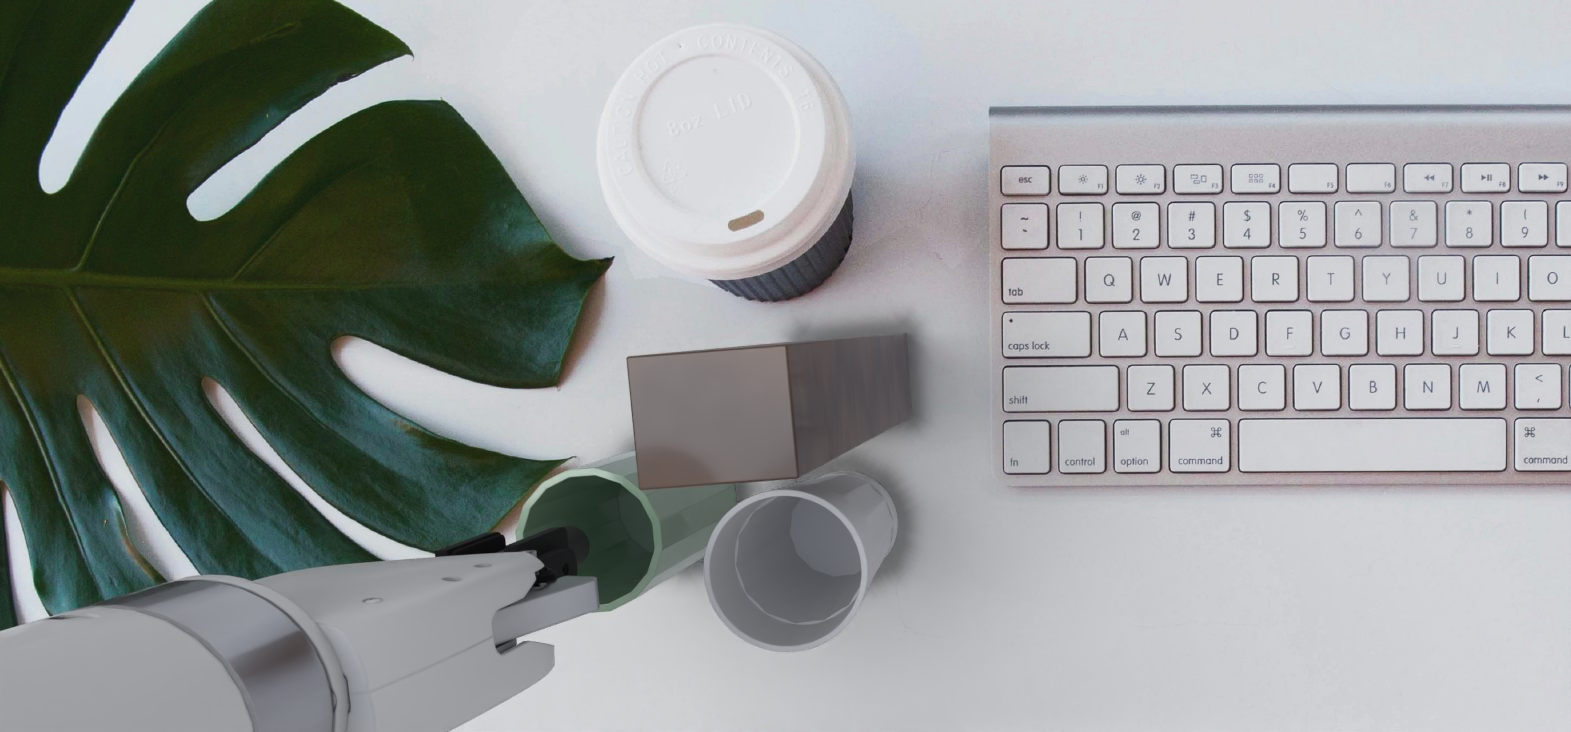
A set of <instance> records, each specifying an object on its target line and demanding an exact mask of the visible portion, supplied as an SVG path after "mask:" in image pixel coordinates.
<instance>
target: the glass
mask: <svg viewBox="0 0 1571 732" xmlns="http://www.w3.org/2000/svg"><path fill="white" fill-rule="evenodd" d="M737 499H738V498H737V492H736V487H735V483H734V484H721V485H707V486H694V487H681V488H668V489H654V490H640V489H639V484H638V473H637V463H636V453H635V449H634V450H630V451H627V452H623V453H620V454H616V455H613V456H609V457H606V458H603V459H600V460H596V461H592V462H589V463H586V464H582V465H578V466H574V467H572V468H569V469H566V470H564V471H561V472H560V473H558V474H556V475H554V476H552V477H550V478H548V479H546V480H544V481H542V482H541V483H540V484H539V485H538V486H537V488H536V489H535V490H534V491H533V493H532V494H531V495H530V496H529V497H528V498H527V500H526V501H525V502H524V503H523V505H522V508H521V511H520V515H519V518H518V521H517V525H516V528H515V542H516V541H519V540H521V539H524V538H526V537H529V536H531V535H534V534H536V533H539V532H541V531H544V530H547V529H549V528H555V527H562V526H575V527H577V528H579V529H581V530H582V531H583V532H584V533H585V534H586V535H587V537H588V539H589V543H590V550H589V554H588V556H587V558H586V559H585V560H584V561H583V562H582V563H581V564H579V565H577V570H578V573H577V576H590V577H596V578H597V585H598V595H599V605H600V609H599V610H596V611H594V612H591V613H590V614H593V613H594V614H595V613H607V612H612V611H614V610H616V609H618V608H620V607H622V606H624V605H626V604H628V603H630V602H632V601H634V600H636V599H638V598H640V597H641V596H643V595H644V594H646V593H647V592H649V591H651V590H652V589H654V588H656V587H657V586H659V585H661V584H662V583H664V582H665V581H667V580H669V579H670V578H672V577H674V576H675V575H677V574H679V573H680V572H682V571H684V570H686V569H687V568H688V567H690V566H692V565H693V564H695V563H697V562H698V561H700V560H701V559H704V557H705V552H706V548H707V545H708V542H709V539H710V537H711V535H712V533H713V531H714V529H715V528H716V526H717V525H718V523H719V522H720V520H721V519H722V518H723V517H724V516H725V515H726V514H727V513H728V512H729V511H730V510H731V509H732V508H733V507H734V506H736V505H737V504H738V502H737V501H738V500H737Z"/></svg>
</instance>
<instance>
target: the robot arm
mask: <svg viewBox="0 0 1571 732" xmlns="http://www.w3.org/2000/svg"><path fill="white" fill-rule="evenodd" d="M502 550H504V551H503V553H497V552H499V551H502ZM577 573H578V570H577V559H576V555H575V552H574V551H573V550H572V549H569V545H568V535H567V530H566V529H565V527H555V528H549V529H547V530H544V531H541V532H539V533H536V534H534V535H531V536H529V537H526V538H524V539H521V540H519V541H516V540H515V541H514V542H511V543H509V544H507V541H506V537H505V535H504V534H503V533H501V532H499V531H491V532H483V533H480V534H478V535H475V536H473V537H469V538H466V539H464V540H462V541H459V542H456V543H453V544H450V545H448V546H444V547H441V548H440V549H436V550H434V556H430V557H417V558H416V557H415V558H405V559H392V560H379V561H377V560H376V561H369V562H366V561H365V562H356V563H345V564H344V563H343V564H333V565H324V566H316V567H309V568H303V569H295V570H291V571H286V572H282V573H277V574H273V575H269V576H266V577H262V578H257V579H254V580H250V579H247V578H244V577H238V576H233V575H228V574H211V573H210V574H199V575H198V574H197V575H190V576H184V577H181V578H177V579H174V580H171V581H167V582H163V583H160V584H157V585H156V584H155V585H152V586H148V587H146V588H143V589H139V590H135V591H132V592H129V593H126V594H122V595H119V596H115V597H111V598H108V599H105V600H101V601H97V602H94V603H90V604H87V605H83V606H80V607H76V608H74V609H71V610H67V611H64V612H63V611H62V612H60V613H57V614H54V615H50V616H47V617H43V618H40V619H37V620H33V621H30V622H26V623H23V624H20V625H16V626H13V627H9V628H6V629H3V630H0V732H451V731H453V730H456V729H458V728H459V727H461V726H463V725H464V724H467V723H468V722H470V721H472V720H474V719H476V718H477V717H480V716H481V715H484V714H485V713H487V712H489V711H491V710H492V709H495V708H496V707H498V706H499V705H501V704H503V703H505V702H507V701H508V700H510V699H512V698H513V697H515V696H517V695H519V694H520V693H522V692H524V691H526V690H527V689H529V688H531V687H532V686H534V685H535V684H537V683H539V682H541V680H543V679H544V678H546V677H547V676H548V675H549V674H550V673H551V671H552V670H553V669H554V667H555V664H556V661H555V660H556V659H555V658H556V657H555V644H551V643H547V642H540V641H533V640H522V641H521V642H519V643H518V641H517V639H518V638H522V637H525V636H527V635H530V634H533V633H536V632H538V631H539V632H540V631H542V630H545V629H548V628H551V627H554V626H557V625H559V624H562V623H565V622H568V621H571V620H573V619H577V618H580V617H582V616H585V615H588V614H592V613H591V612H594V611H596V610H599V609H600V605H599V595H598V585H597V578H596V577H590V576H577Z"/></svg>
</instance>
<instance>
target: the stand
mask: <svg viewBox="0 0 1571 732" xmlns="http://www.w3.org/2000/svg"><path fill="white" fill-rule="evenodd" d="M625 360H626V361H625V362H626V371H627V378H628V379H627V381H628V390H629V402H630V411H631V420H632V421H631V422H632V431H633V442H634V450H635V453H636V463H637V473H638V484H639V489H640V490H654V489H668V488H681V487H694V486H707V485H721V484H734V485H735V484H744V483H746V484H747V483H757V482H759V483H760V482H772V481H784V480H785V481H786V480H799V479H800V478H802V477H803V476H806V475H807V474H809V473H811V472H814V471H815V470H816V469H819V468H820V467H822V466H824V465H826V464H827V463H829V462H831V461H833V460H835V459H837V458H839V457H840V456H842V455H845V454H846V453H848V452H850V451H852V450H853V449H855V448H857V447H859V446H861V445H863V444H865V443H867V442H869V441H870V440H872V439H874V438H875V437H878V436H880V435H881V434H883V433H885V432H887V431H889V430H890V429H892V428H895V427H896V426H898V425H900V424H901V423H904V422H905V421H907V420H909V419H911V418H913V417H914V409H913V397H912V387H911V386H912V385H911V374H910V361H909V349H908V338H907V333H906V332H898V333H884V334H870V335H869V334H868V335H858V336H846V337H845V336H843V337H832V338H831V337H830V338H819V339H806V340H805V339H804V340H795V341H793V340H792V341H783V342H771V343H759V344H749V345H739V346H727V347H716V348H705V349H693V350H684V351H683V350H682V351H673V352H672V351H671V352H661V353H649V354H637V355H628V356H627V357H626V358H625Z"/></svg>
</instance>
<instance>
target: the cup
mask: <svg viewBox="0 0 1571 732" xmlns="http://www.w3.org/2000/svg"><path fill="white" fill-rule="evenodd" d="M898 519H899V518H898V513H897V509H896V506H895V504H894V501H893V499H892V497H891V496H890V494H889V492H888V491H887V490H886V489H885V488H884V486H882V485H881V484H880V483H879V482H878V481H876V480H875V479H874V478H872V477H870V476H868V475H866V474H865V473H861V472H858V471H853V470H835V471H830V472H828V473H824V474H822V475H819V476H818V477H815V478H812V479H808V480H805V481H801V482H797V483H794V484H791V485H787V486H783V487H778V488H774V489H771V490H766V491H763V492H762V491H761V492H759V493H756V494H754V495H751V496H748V497H747V498H745V499H743V500H741V501H740V502H738V503H737V505H736V506H734V507H733V508H732V509H731V510H730V511H729V512H728V513H727V514H726V515H725V516H724V517H723V518H722V519H721V520H720V522H719V523H718V525H717V526H716V528H715V529H714V531H713V533H712V535H711V537H710V539H709V542H708V545H707V548H706V552H705V557H703V581H704V588H705V592H706V594H707V597H708V600H709V603H710V605H711V607H712V609H713V611H714V612H715V614H716V615H717V617H718V618H719V620H720V622H721V623H723V625H724V626H725V627H726V628H727V629H728V630H729V631H731V632H732V633H733V634H734V635H735V636H737V637H738V638H739V639H741V640H742V641H744V642H746V643H748V644H749V645H752V646H754V647H757V648H758V649H762V650H766V651H770V652H775V653H776V652H777V653H797V652H803V651H807V650H812V649H814V648H818V647H819V646H822V645H823V644H825V643H828V642H829V641H831V640H832V639H834V638H836V637H837V636H839V634H840V633H842V632H843V631H844V630H845V629H846V628H847V627H848V626H849V625H850V623H851V622H852V621H853V619H854V618H855V616H857V613H858V612H859V609H860V608H861V605H862V603H863V601H864V599H865V597H866V595H867V593H868V590H869V588H870V587H871V583H872V582H873V580H874V578H875V576H876V574H877V572H878V570H879V568H880V567H881V565H882V563H883V561H884V560H885V559H886V558H887V556H888V555H889V554H890V552H891V550H892V549H893V547H894V545H895V542H896V538H897V535H898V528H899V521H898Z"/></svg>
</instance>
